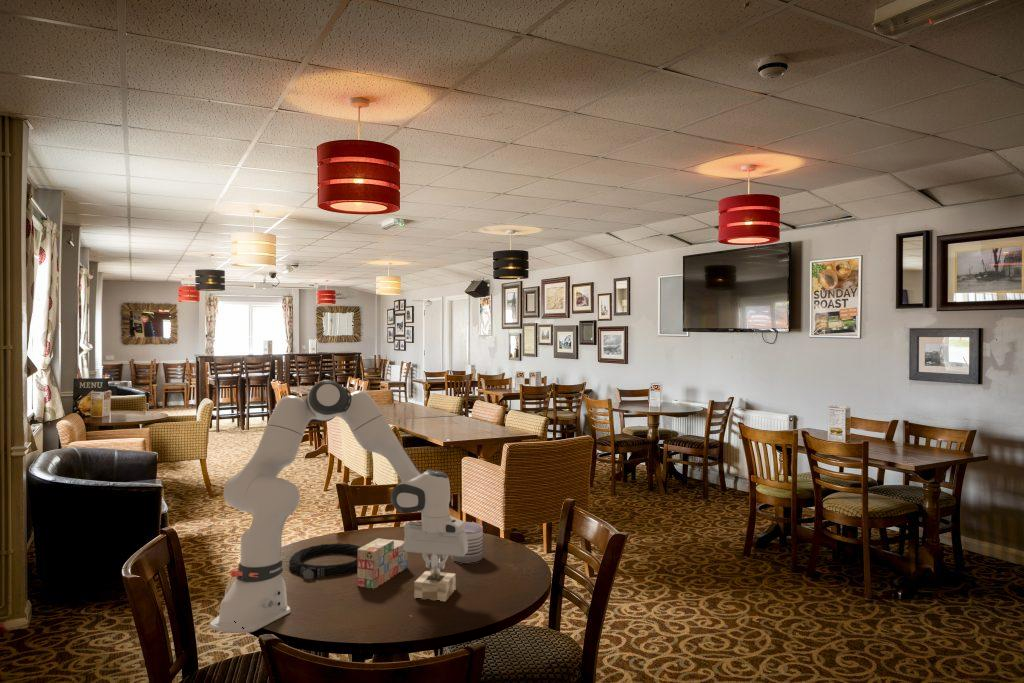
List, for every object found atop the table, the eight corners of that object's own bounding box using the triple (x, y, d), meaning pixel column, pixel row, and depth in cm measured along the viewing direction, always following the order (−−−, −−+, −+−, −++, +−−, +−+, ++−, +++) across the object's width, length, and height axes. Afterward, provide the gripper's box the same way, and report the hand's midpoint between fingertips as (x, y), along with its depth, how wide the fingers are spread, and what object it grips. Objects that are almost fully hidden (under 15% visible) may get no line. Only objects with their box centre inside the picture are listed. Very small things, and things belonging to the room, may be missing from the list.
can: (466, 551, 247) (466, 519, 247) (489, 558, 240) (489, 524, 240) (444, 559, 238) (444, 525, 238) (467, 566, 231) (467, 531, 231)
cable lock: (382, 544, 244) (347, 572, 214) (381, 554, 244) (347, 584, 214) (312, 539, 249) (269, 566, 219) (312, 549, 249) (269, 577, 219)
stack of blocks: (391, 565, 231) (392, 530, 231) (407, 568, 229) (407, 532, 229) (356, 587, 211) (357, 548, 211) (373, 589, 209) (374, 550, 209)
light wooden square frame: (445, 601, 200) (445, 584, 200) (414, 598, 202) (414, 581, 202) (455, 589, 210) (455, 573, 210) (425, 586, 212) (425, 570, 212)
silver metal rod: (438, 589, 204) (438, 544, 204) (428, 588, 205) (429, 543, 205) (441, 586, 207) (441, 541, 207) (432, 585, 208) (432, 540, 208)
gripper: (400, 523, 205) (400, 568, 205) (463, 528, 200) (463, 574, 201) (408, 518, 211) (407, 561, 211) (469, 522, 207) (469, 567, 207)
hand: (435, 567), depth 206 cm, fingers closed on silver metal rod, 3 cm apart
